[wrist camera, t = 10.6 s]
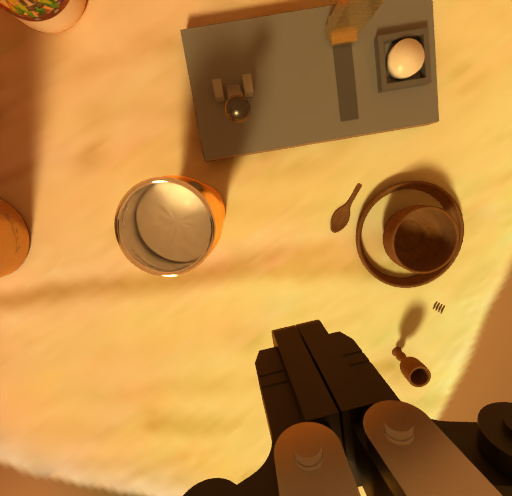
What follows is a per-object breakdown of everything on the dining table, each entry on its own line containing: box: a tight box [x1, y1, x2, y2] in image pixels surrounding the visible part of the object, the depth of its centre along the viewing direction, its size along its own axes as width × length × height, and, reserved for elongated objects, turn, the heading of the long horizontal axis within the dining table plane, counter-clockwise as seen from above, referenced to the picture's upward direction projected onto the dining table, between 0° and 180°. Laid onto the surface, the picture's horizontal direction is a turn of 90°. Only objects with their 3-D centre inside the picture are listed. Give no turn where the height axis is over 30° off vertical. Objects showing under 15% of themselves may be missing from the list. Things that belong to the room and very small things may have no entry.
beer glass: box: [114, 175, 225, 277], centre depth 29 cm, size 7×7×15 cm
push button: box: [385, 38, 425, 80], centre depth 31 cm, size 3×3×1 cm
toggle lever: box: [225, 84, 251, 123], centre depth 28 cm, size 2×2×9 cm
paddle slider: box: [325, 0, 384, 47], centre depth 27 cm, size 3×2×9 cm
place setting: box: [331, 181, 464, 387], centre depth 36 cm, size 18×20×6 cm
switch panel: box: [180, 0, 439, 161], centre depth 32 cm, size 24×12×4 cm, turn 99°
